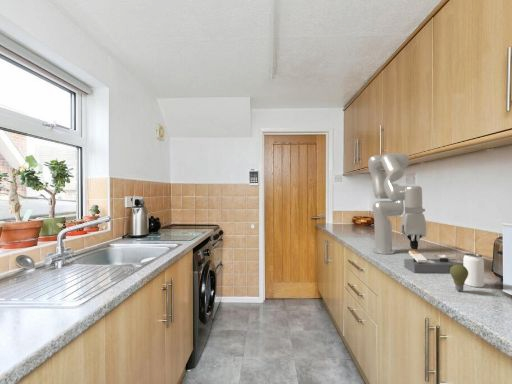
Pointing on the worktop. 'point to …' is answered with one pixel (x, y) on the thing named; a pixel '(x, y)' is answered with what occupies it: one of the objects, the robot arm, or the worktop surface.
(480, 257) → the can
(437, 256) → the rocker
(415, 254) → the rocker
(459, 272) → the light bulb
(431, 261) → the switch panel
